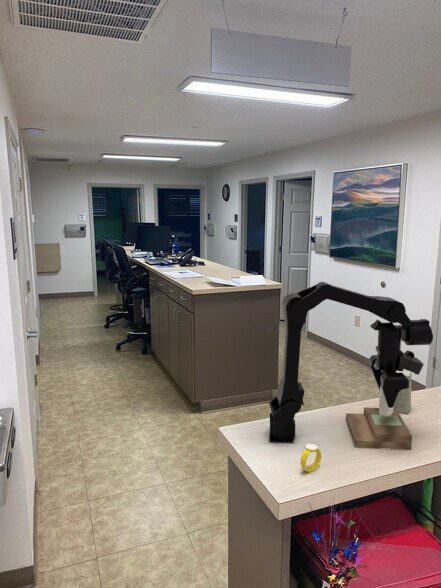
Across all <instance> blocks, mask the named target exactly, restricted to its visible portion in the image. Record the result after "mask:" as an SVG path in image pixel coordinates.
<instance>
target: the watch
mask: <svg viewBox="0 0 441 588" xmlns="http://www.w3.org/2000/svg"><path fill="white" fill-rule="evenodd" d="M311 453H316V454H315V459H314V462H313V463H312V464H311V465H310V466H309V467H307V465H306V464H307V460H308V456H309V455H310V454H311ZM321 460H322V452H321V450H320V448H319V447H318V446H317V445H316V444H313V443H308V444H306V445H305V450H304V451H303V452H302V455H301V457H300V466H301V469H302V470H303V471H305V472H307V473H311V472H312V471H314V470H316V469H318V468H319V466H320V463H321Z"/></svg>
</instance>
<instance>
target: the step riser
mask: <svg viewBox="0 0 441 588" xmlns="http://www.w3.org/2000/svg"><path fill="white" fill-rule="evenodd" d="M345 421H346V424H347V428H348V431H349V433H350V436H351V440H352V443H353V445H354V448H359V449H360V448H361V449H379V448H386V450H388V449H387V448H390V449H389V450H403V451H405V450H407V451H411V450H412V443H413V441H412V440H413V435H412V433H411V432H410V430H409V428H408V425H406V423H405V421H404V420H403V418H402V416H401V415H400V412H398V411H397V410H396V408H393V414H392V415H391V416H389V417H385V416H381V415H379V407H365V406H364V407H363V413H353V412H352V413H351V412H349V413H347V412H346V413H345Z"/></svg>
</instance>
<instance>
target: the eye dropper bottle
mask: <svg viewBox="0 0 441 588" xmlns="http://www.w3.org/2000/svg"><path fill="white" fill-rule="evenodd" d="M378 400H379V401H378V408H379V415H381V416H385V417H389V416H391V415H392V414H393V408H389V407H388V405H387V402H386V399H385V396H384V393H383V390H382V387H381V386H380V391H379V397H378Z"/></svg>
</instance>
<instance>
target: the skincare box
mask: <svg viewBox="0 0 441 588" xmlns="http://www.w3.org/2000/svg"><path fill="white" fill-rule="evenodd" d="M396 372H398V373H403V374H404V375H405V376H406V377H407V378H408V380H409V381H410V382H409V388H408V389H402V390H401V391H399V393H398V395H397V398H396V400H395V403H394V406H393V408H396V410H397V411H398V413H399V414H400V413H402V414H407V415H409V413H410V411H411V409H412V372H411V371H408V370H403V371H396Z"/></svg>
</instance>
